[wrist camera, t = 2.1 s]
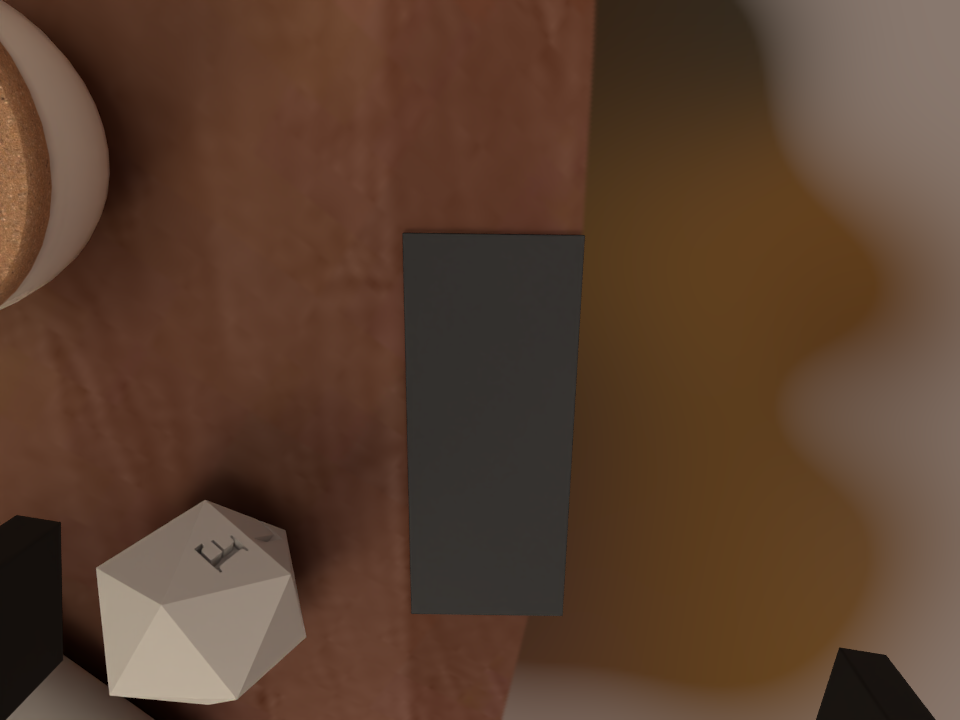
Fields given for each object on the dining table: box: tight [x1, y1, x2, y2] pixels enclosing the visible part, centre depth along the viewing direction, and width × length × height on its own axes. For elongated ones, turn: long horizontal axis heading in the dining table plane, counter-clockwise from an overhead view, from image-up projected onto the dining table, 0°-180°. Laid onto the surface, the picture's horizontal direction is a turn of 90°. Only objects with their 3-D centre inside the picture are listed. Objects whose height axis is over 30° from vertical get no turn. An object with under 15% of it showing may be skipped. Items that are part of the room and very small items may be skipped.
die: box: [96, 500, 306, 705], centre depth 32 cm, size 8×9×10 cm
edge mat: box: [403, 233, 585, 616], centre depth 33 cm, size 20×8×1 cm, turn 179°
